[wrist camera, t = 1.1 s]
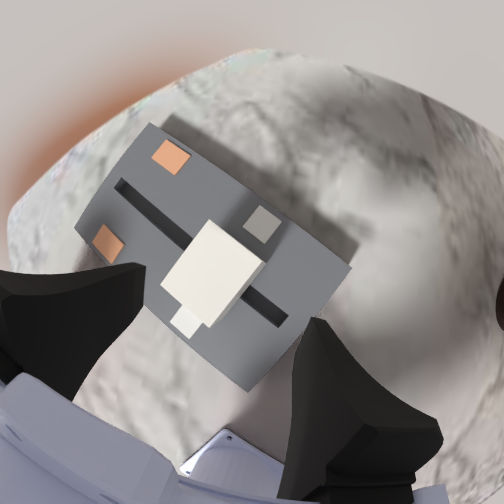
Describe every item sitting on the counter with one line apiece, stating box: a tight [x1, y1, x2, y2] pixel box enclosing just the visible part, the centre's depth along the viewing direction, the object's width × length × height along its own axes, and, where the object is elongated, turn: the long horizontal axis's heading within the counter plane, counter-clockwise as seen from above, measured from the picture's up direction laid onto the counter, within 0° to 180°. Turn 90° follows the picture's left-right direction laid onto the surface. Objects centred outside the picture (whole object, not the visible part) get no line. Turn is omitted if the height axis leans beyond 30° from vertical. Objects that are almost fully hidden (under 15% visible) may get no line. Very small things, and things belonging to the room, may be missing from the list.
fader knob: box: [160, 220, 266, 328], centre depth 19 cm, size 4×5×5 cm
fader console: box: [74, 122, 352, 392], centre depth 22 cm, size 21×12×2 cm, turn 52°
